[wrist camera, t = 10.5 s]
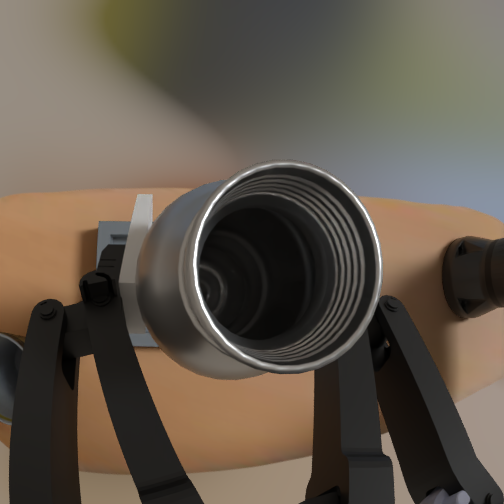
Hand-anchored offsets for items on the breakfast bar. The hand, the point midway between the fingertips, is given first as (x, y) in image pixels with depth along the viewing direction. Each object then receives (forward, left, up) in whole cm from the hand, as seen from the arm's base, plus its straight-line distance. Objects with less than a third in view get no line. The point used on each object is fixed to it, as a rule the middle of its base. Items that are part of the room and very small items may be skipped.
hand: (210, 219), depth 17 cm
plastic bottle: (0, +4, -9) cm, 9 cm away
